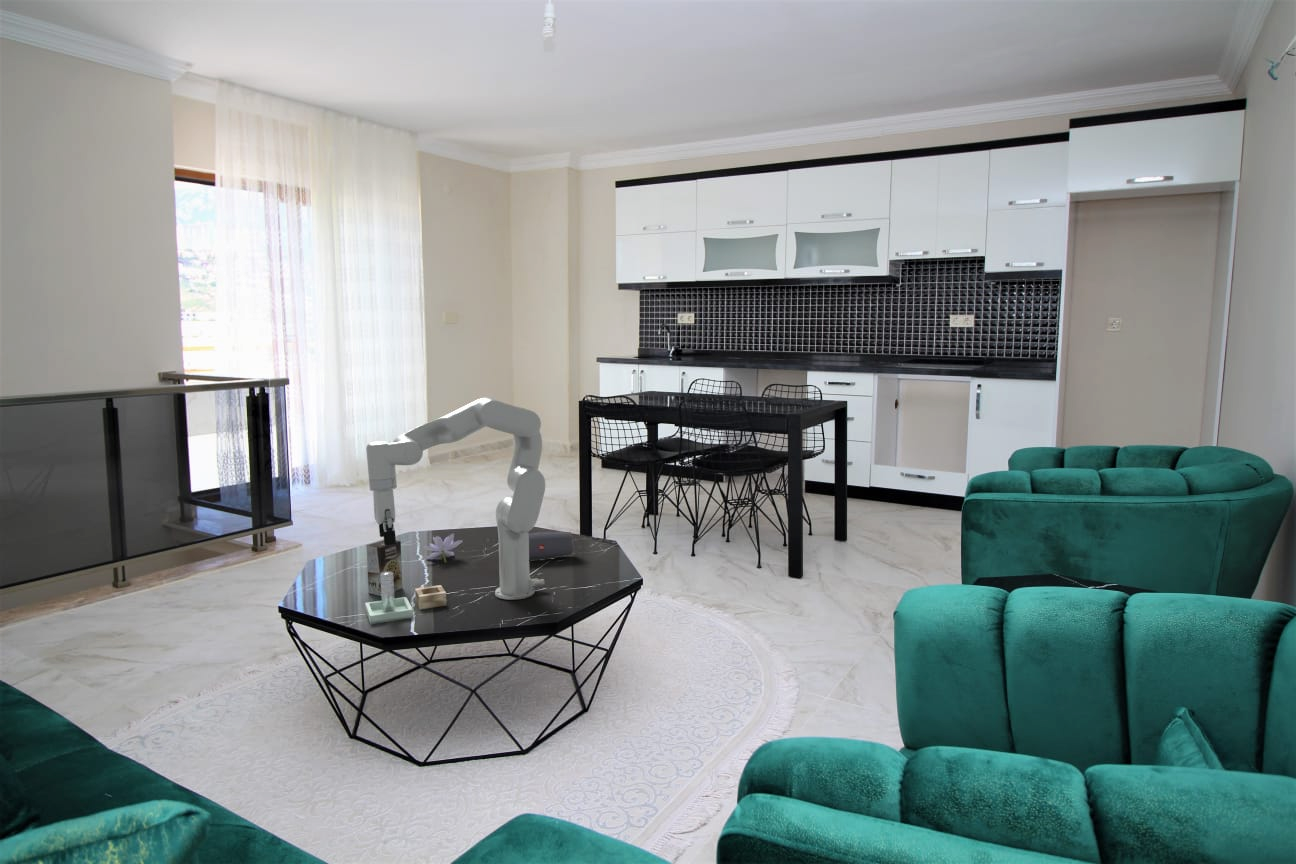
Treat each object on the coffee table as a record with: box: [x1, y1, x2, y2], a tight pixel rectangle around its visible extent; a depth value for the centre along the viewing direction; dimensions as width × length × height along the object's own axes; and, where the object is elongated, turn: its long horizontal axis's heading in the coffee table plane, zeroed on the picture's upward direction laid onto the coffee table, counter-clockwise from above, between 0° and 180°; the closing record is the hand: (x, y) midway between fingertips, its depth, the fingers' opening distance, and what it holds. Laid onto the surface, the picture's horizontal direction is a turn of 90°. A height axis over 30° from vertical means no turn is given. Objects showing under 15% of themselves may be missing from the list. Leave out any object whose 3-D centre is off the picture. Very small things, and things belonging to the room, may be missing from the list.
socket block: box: [414, 584, 447, 610], centre depth 245 cm, size 8×8×4 cm
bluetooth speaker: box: [528, 531, 574, 561], centre depth 290 cm, size 23×9×10 cm, turn 104°
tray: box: [364, 596, 414, 625], centre depth 236 cm, size 12×12×2 cm
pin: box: [380, 572, 395, 613], centre depth 235 cm, size 4×4×12 cm
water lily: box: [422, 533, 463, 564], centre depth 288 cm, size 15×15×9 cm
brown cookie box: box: [366, 539, 403, 597], centre depth 255 cm, size 9×6×16 cm
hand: (387, 540), depth 233 cm, fingers open, 9 cm apart
